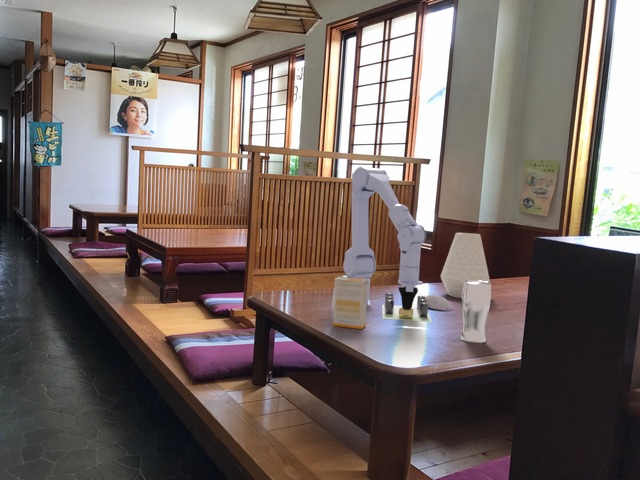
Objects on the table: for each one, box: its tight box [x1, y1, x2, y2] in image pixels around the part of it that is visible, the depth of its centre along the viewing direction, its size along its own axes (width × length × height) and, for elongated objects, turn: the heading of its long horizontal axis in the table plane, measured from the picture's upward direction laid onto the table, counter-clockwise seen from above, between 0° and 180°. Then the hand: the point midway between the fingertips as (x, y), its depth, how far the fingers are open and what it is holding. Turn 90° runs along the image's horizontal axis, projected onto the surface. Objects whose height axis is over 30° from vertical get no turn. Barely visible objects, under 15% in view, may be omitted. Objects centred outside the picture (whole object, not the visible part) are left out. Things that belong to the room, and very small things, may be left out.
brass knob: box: [399, 308, 413, 319], centre depth 160 cm, size 4×4×3 cm
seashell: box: [425, 294, 455, 312], centre depth 177 cm, size 10×6×10 cm
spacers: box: [384, 292, 429, 318], centre depth 169 cm, size 12×14×4 cm
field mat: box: [381, 304, 433, 323], centre depth 166 cm, size 14×20×1 cm
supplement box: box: [332, 275, 368, 330], centre depth 149 cm, size 8×5×13 cm, turn 71°
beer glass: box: [460, 280, 492, 344], centre depth 140 cm, size 7×7×15 cm
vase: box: [440, 232, 490, 299], centre depth 203 cm, size 18×17×23 cm
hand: (406, 311), depth 163 cm, fingers closed
